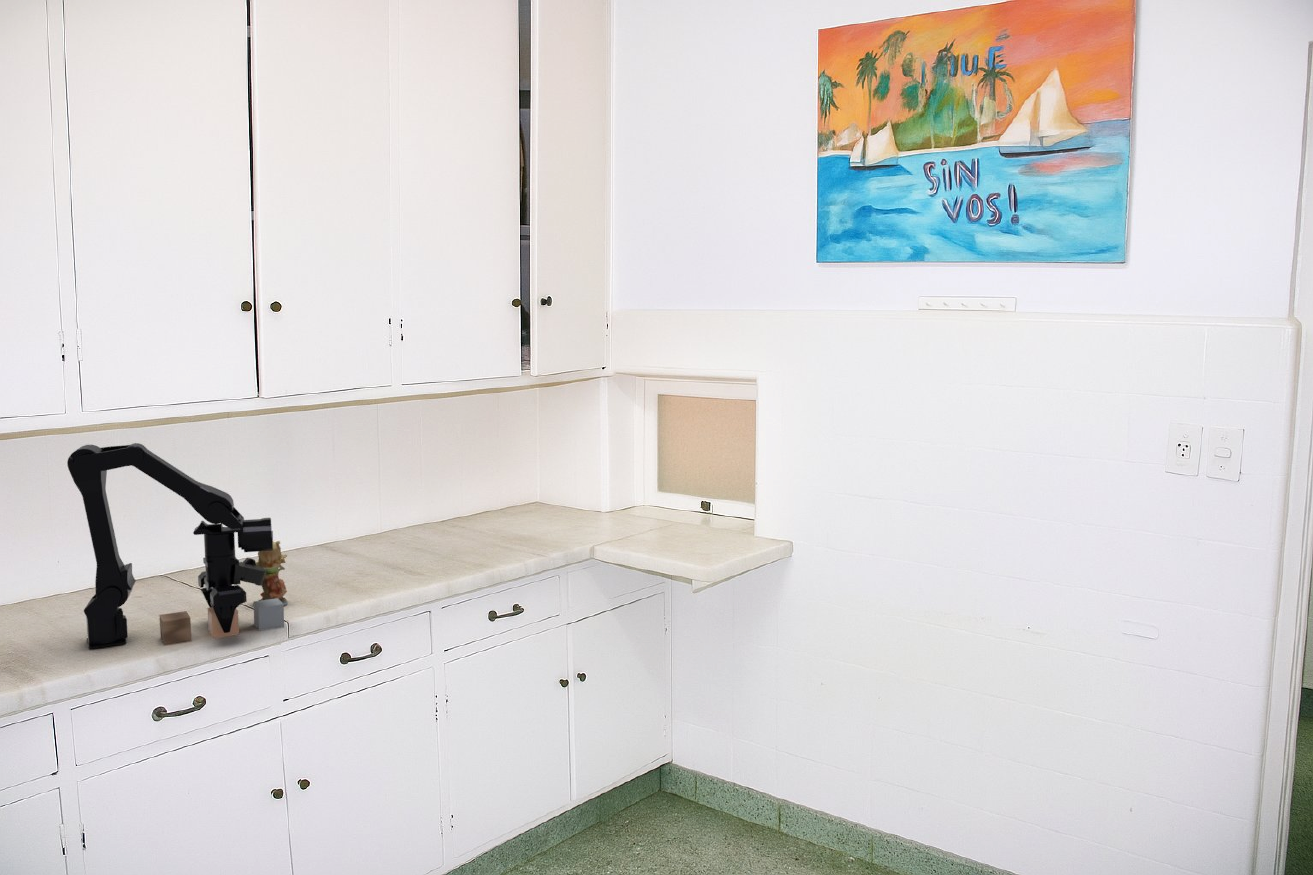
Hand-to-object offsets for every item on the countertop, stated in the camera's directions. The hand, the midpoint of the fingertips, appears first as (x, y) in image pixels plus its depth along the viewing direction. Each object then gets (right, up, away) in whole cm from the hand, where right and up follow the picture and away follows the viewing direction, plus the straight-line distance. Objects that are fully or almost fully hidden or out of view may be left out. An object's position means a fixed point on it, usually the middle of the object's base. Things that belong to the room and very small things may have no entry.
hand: (223, 627), depth 211 cm
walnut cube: (-8, -2, -5) cm, 9 cm away
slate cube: (+8, -1, +5) cm, 9 cm away
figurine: (+2, +1, +19) cm, 19 cm away
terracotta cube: (0, -1, 0) cm, 1 cm away
